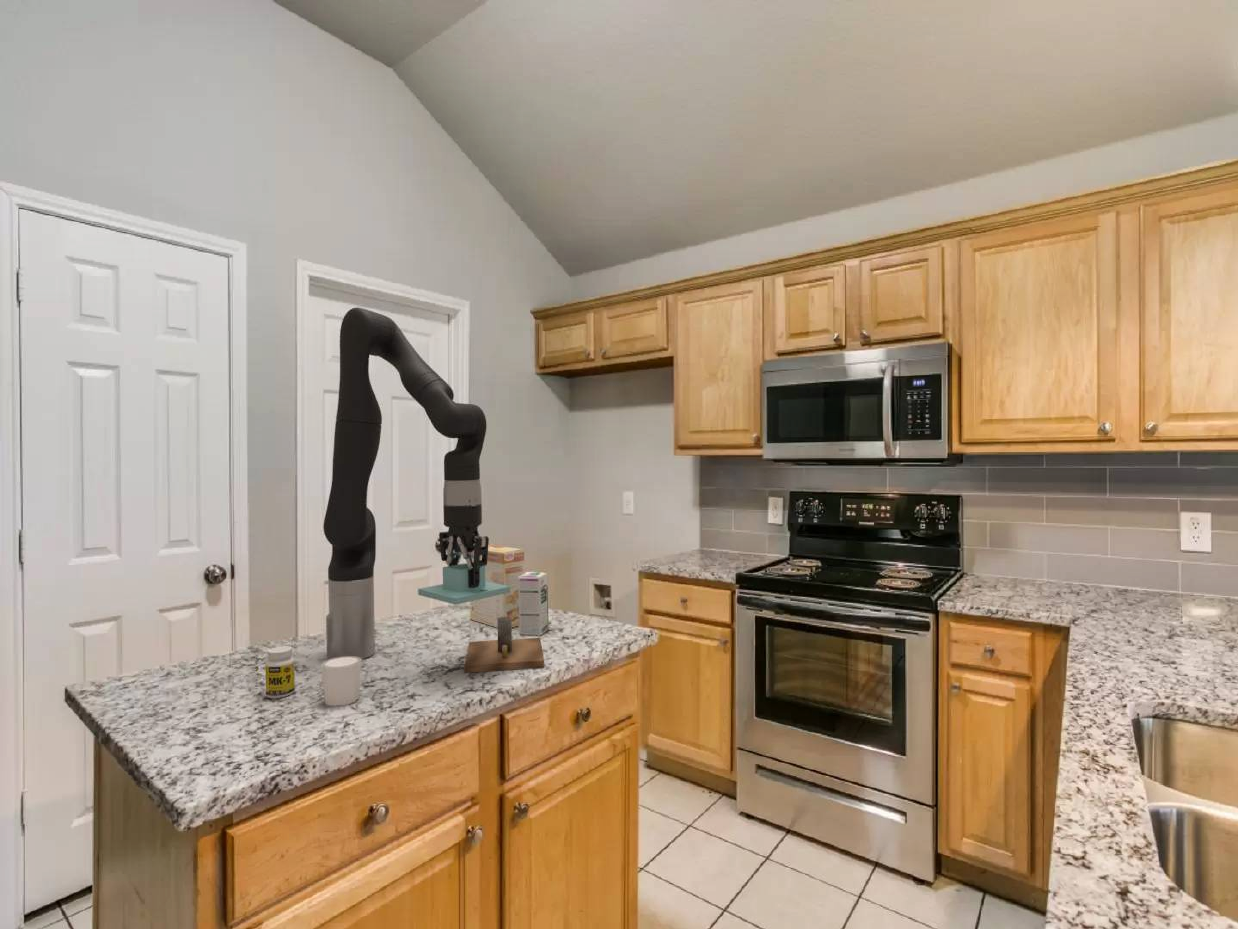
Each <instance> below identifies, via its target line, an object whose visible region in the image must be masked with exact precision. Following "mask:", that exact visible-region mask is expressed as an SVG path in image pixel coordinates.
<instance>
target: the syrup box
mask: <svg viewBox="0 0 1238 929" xmlns="http://www.w3.org/2000/svg"><path fill="white" fill-rule="evenodd" d="M548 586H549V585H548V573H547V572H546V571H545V572H544V571H526V572H524V574H523V575H521V576H519V577H518V592H519V626H518V627H519V635H522V636H531V635H537V636H538V637H541V635H542V636H543V635H544V634H545V633H546V632H547V631H548V630H549V628H550V626H549V592H548V588H549V587H548ZM537 636H536V637H537Z"/></svg>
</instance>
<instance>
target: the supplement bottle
mask: <svg viewBox="0 0 1238 929" xmlns="http://www.w3.org/2000/svg"><path fill="white" fill-rule="evenodd" d="M292 648H293V647H291V646H288V645H286V646H285V645H283V646H281V645H280V646H276V647H272V648H269V649H268V650H267V660H266V661H265V665H264V666H265V696H266V698H269V699H282V698H286V697H289V696H291V695H292V693H293V694H294V693H295V692H296V691H295V690H296V689H295V688H296V687H295V676H296V675H295V672H296V671H295V659H294V657H293V649H292ZM288 695H289V696H288ZM285 696H286V697H285ZM281 697H282V698H281Z"/></svg>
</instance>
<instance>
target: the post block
mask: <svg viewBox="0 0 1238 929" xmlns="http://www.w3.org/2000/svg"><path fill="white" fill-rule="evenodd" d="M497 625H498V628H497V639H496V640H495V639H494V640H482V641H481V640H479V641H476V640H475V641H468V645H467V650H466V656H465V662H464V673H465V674H468V673H484V672H500V670H501V671H512V670H514V671H515V670H529V669H544V668H545V657H544V652H543V648H542V641H541V637H533V638H532V637H531V638H530V637H529V638H515V639H513V636H512V630H513V628H512V618H511V617H500V618H498V619H497Z"/></svg>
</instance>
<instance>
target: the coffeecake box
mask: <svg viewBox="0 0 1238 929" xmlns="http://www.w3.org/2000/svg"><path fill="white" fill-rule="evenodd" d="M471 553H474V550H473V551H472V552H471ZM471 559H472V562H474V558H471ZM480 560H482V555H480ZM523 574H525V549H522V548H515V547H509V546H503V545H497V544H492V543H491V544H490V543H489V544H488V558H487V565H486V566H485V581H486V582H491V583H496V584H501V585H505V586H510V592H509V593H505V594H501V595H496V596H492V597H488V598H483V599H479V600H475V601H470V602H469V604H470V605H469V606H470V608H469V609H470V611H469V612H470V618H469V619H470V620H471V619H472V620H471V621H476V622H478V623H480V624H485V625H488V626H490V627H493V626H494V628H496V629H498V625H497V619H498V618H500V617H511V618H512V627H513V628H517V627H516V626H518V627H519V592H518V577H519V576H521V575H523Z"/></svg>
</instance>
